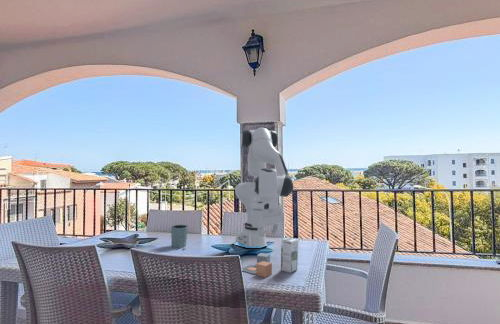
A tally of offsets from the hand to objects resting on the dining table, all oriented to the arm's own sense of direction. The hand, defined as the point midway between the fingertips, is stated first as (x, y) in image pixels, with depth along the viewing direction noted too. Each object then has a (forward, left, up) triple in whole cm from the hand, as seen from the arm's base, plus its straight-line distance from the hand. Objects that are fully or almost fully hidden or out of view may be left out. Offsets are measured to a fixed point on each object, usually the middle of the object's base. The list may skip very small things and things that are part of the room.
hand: (268, 235), depth 133 cm
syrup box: (+4, +12, -18) cm, 22 cm away
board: (-10, +2, -18) cm, 20 cm away
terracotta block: (-2, 0, -18) cm, 18 cm away
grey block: (-10, +11, -18) cm, 23 cm away
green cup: (-69, +7, -18) cm, 72 cm away
